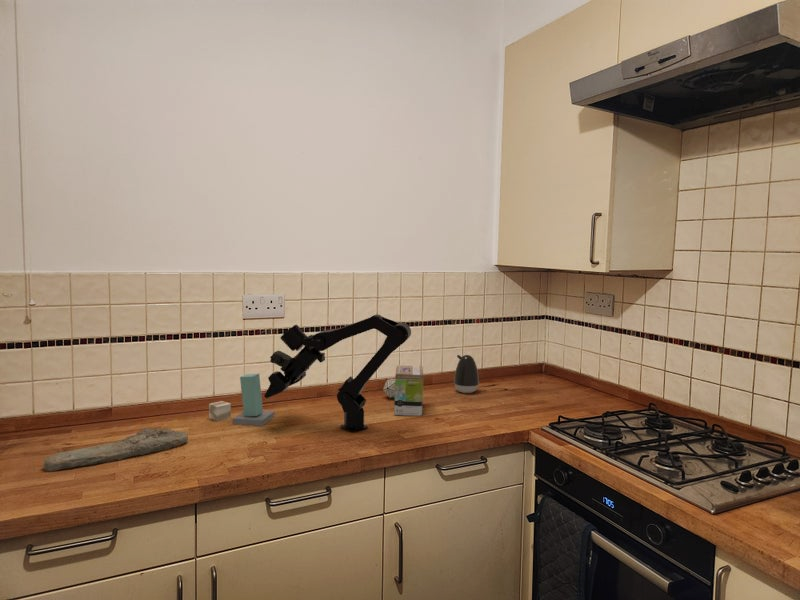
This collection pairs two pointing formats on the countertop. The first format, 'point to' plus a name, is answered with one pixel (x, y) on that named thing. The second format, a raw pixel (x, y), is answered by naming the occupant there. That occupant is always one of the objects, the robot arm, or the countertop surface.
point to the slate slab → (254, 419)
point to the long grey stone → (117, 449)
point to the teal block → (251, 394)
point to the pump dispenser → (466, 375)
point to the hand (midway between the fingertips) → (271, 393)
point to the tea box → (408, 390)
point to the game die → (389, 388)
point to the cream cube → (219, 411)
